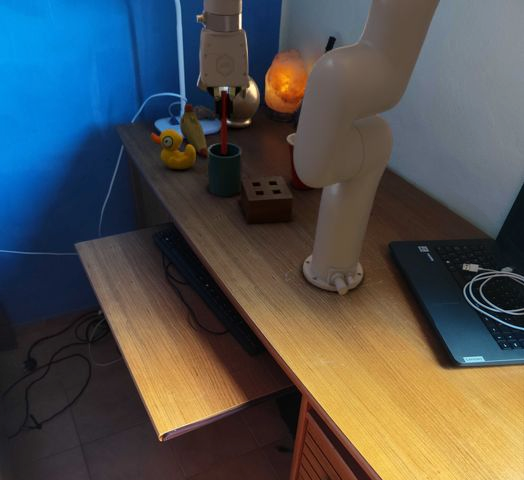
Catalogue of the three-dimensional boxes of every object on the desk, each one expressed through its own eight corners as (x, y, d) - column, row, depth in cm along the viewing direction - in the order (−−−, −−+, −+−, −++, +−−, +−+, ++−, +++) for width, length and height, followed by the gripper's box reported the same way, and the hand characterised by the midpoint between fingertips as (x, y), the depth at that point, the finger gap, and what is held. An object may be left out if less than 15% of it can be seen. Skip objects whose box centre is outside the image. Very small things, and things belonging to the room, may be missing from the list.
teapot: (264, 131, 145) (267, 73, 133) (223, 135, 142) (222, 75, 130) (247, 109, 157) (248, 54, 145) (208, 112, 153) (206, 56, 141)
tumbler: (244, 195, 118) (244, 156, 111) (211, 197, 117) (209, 158, 109) (238, 179, 124) (238, 142, 116) (206, 181, 122) (205, 143, 115)
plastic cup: (323, 176, 127) (330, 131, 118) (323, 195, 120) (330, 149, 111) (284, 172, 128) (288, 127, 119) (281, 191, 120) (285, 145, 111)
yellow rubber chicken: (215, 159, 131) (214, 122, 124) (196, 161, 129) (194, 124, 122) (192, 130, 143) (190, 95, 136) (175, 133, 142) (172, 97, 134)
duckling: (152, 170, 125) (147, 132, 117) (157, 161, 128) (152, 124, 121) (194, 174, 125) (192, 136, 117) (198, 164, 128) (195, 127, 121)
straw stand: (290, 220, 111) (293, 197, 107) (248, 223, 109) (248, 200, 105) (280, 198, 118) (282, 176, 114) (240, 201, 116) (240, 178, 112)
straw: (227, 153, 113) (227, 92, 103) (221, 154, 113) (221, 92, 103) (226, 151, 114) (226, 90, 104) (221, 151, 114) (220, 90, 104)
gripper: (186, 26, 90) (191, 124, 103) (264, 27, 93) (260, 122, 106) (182, 16, 95) (188, 111, 108) (257, 17, 98) (253, 109, 111)
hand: (223, 116), depth 107 cm, fingers closed on straw, 1 cm apart
